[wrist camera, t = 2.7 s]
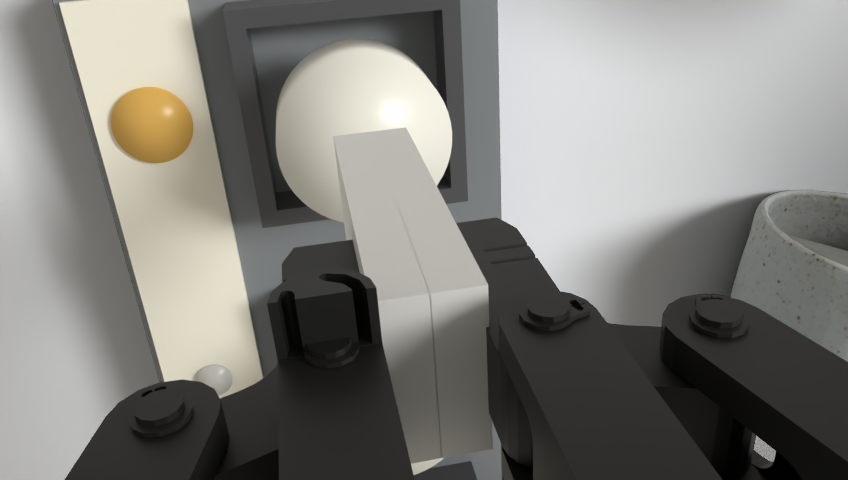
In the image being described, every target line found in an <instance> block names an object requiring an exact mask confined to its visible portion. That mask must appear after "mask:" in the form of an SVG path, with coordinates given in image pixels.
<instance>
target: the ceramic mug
mask: <svg viewBox="0 0 848 480" xmlns="http://www.w3.org/2000/svg"><path fill="white" fill-rule="evenodd" d="M730 298H735V299H739V300H742V301H744V302H746V303H748V304H751V305H753V306H755V307H757V308H759V309H761V310H762V311H764V312H766V313H767V314H769V315H771V316H772V317H774V318H776V319H777V320H779V321H781V322H782V323H784V324H786V325H787V326H789V327H791V328H792V329H794V330H796V331H797V332H799V333H801V334H802V335H804V336H806V337H807V338H809V339H811V340H812V341H814V342H816V343H817V344H819V345H821V346H822V347H824V348H826V349H827V350H829V351H831V352H832V353H834V354H836V355H837V356H839V357H841V358H842V359H844V360H846V361H847V362H848V194H843V193H833V192H824V191H818V190H794V191H790V190H789V191H784V192H779V193H774V194H772V195H770V196H768V197H766V198H765V199H763V200H762V201H761V203H760V204H759V205H758V207H757V210H756V212H755V215H754V219H753V223H752V227H751V231H750V234H749V237H748V240H747V243H746V246H745V249H744V252H743V254H742V257H741V261H740V264H739V268H738V271H737V274H736V278H735V281H734V285H733V288H732V292H731V296H730Z"/></svg>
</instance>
